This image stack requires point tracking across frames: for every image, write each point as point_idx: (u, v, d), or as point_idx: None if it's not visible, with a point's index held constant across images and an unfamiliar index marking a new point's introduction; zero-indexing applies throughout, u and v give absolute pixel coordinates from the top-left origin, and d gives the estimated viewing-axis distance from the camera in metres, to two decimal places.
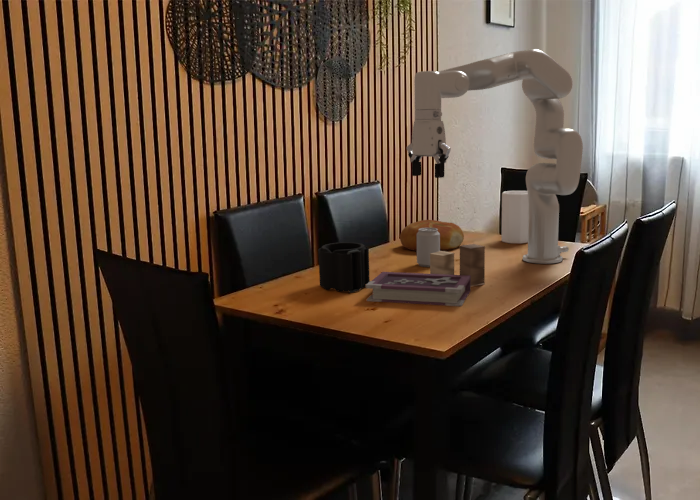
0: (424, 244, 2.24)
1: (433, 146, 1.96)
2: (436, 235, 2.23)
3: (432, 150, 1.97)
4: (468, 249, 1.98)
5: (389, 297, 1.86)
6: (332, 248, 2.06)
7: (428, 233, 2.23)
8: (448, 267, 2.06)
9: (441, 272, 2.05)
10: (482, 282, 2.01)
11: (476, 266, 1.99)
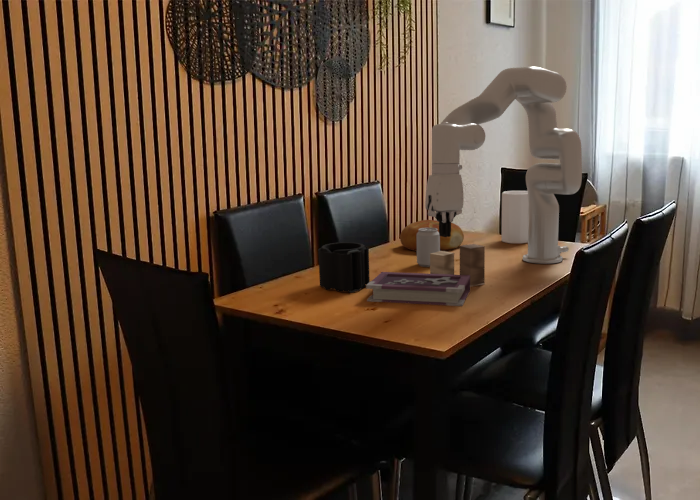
0: (424, 244, 2.24)
1: (462, 199, 1.93)
2: (435, 235, 2.23)
3: (461, 204, 1.93)
4: (468, 249, 1.98)
5: (389, 297, 1.86)
6: (332, 248, 2.06)
7: (428, 233, 2.23)
8: (448, 267, 2.06)
9: (441, 272, 2.05)
10: (482, 282, 2.01)
11: (476, 266, 1.99)
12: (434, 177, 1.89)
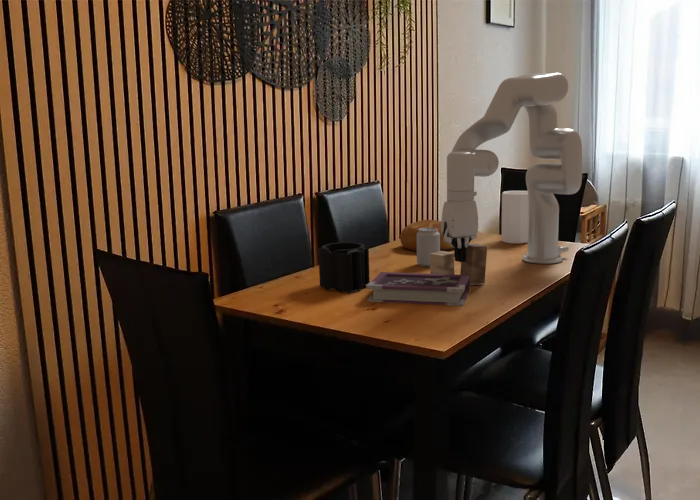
0: (424, 244, 2.24)
1: (477, 225, 1.97)
2: (436, 235, 2.23)
3: (476, 229, 1.97)
4: (471, 247, 1.98)
5: (390, 297, 1.86)
6: (332, 248, 2.06)
7: (428, 233, 2.23)
8: (448, 267, 2.06)
9: (441, 272, 2.05)
10: (482, 282, 2.01)
11: (477, 265, 1.99)
12: (449, 204, 1.93)
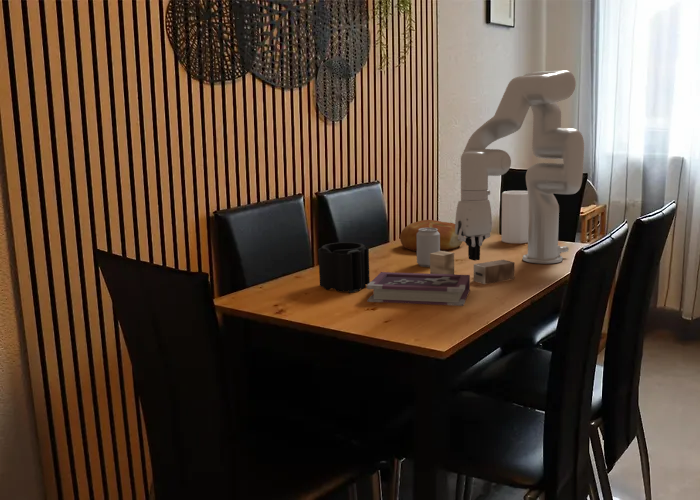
0: (424, 244, 2.24)
1: (491, 224, 2.00)
2: (436, 235, 2.23)
3: (490, 228, 2.00)
4: (511, 262, 2.06)
5: (390, 297, 1.86)
6: (332, 248, 2.06)
7: (428, 233, 2.23)
8: (448, 267, 2.06)
9: (441, 272, 2.05)
10: (486, 281, 2.01)
11: (499, 271, 2.03)
12: (464, 203, 1.95)
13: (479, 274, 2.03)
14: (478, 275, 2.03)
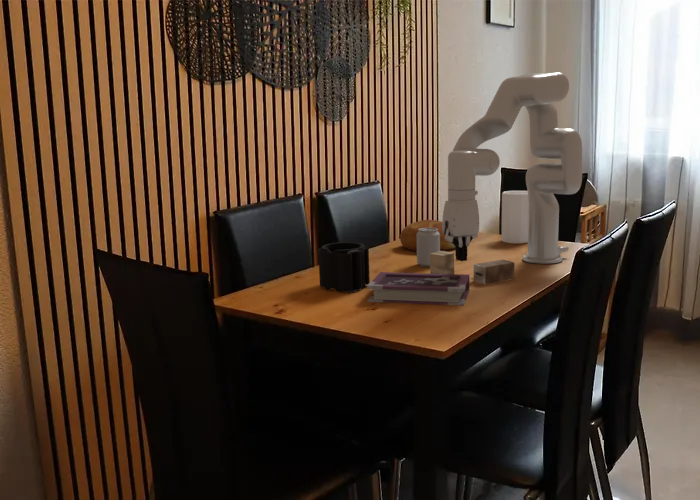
0: (424, 244, 2.24)
1: (478, 224, 1.97)
2: (436, 235, 2.23)
3: (477, 228, 1.97)
4: (511, 262, 2.06)
5: (390, 297, 1.86)
6: (332, 248, 2.06)
7: (428, 233, 2.23)
8: (448, 267, 2.06)
9: (441, 272, 2.05)
10: (486, 281, 2.01)
11: (499, 271, 2.03)
12: (451, 203, 1.93)
13: (479, 274, 2.03)
14: (478, 275, 2.03)
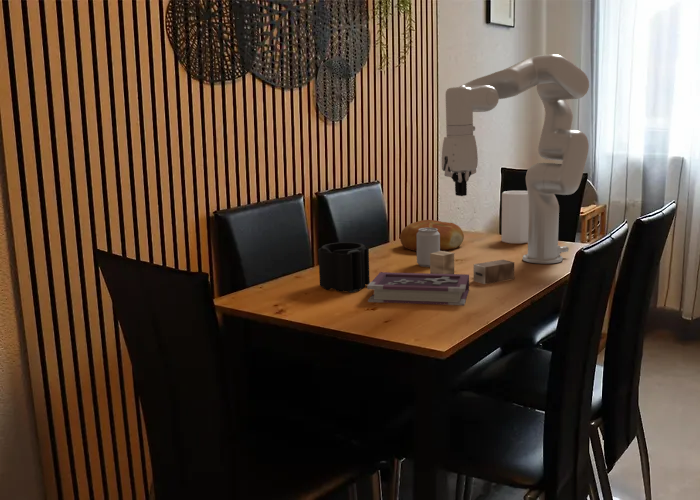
0: (424, 244, 2.24)
1: (477, 159, 2.02)
2: (436, 235, 2.23)
3: (476, 163, 2.02)
4: (511, 262, 2.06)
5: (391, 297, 1.86)
6: (332, 248, 2.06)
7: (428, 233, 2.23)
8: (448, 267, 2.06)
9: (441, 272, 2.05)
10: (486, 281, 2.01)
11: (499, 271, 2.03)
12: (449, 139, 1.97)
13: (479, 274, 2.03)
14: (478, 275, 2.03)
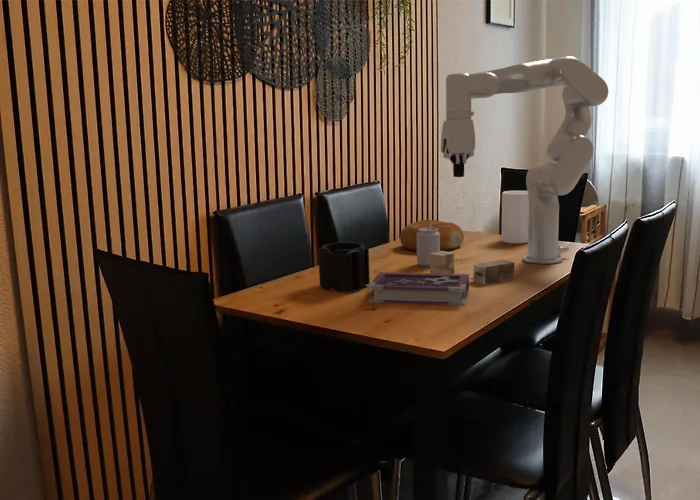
0: (424, 244, 2.24)
1: (474, 143, 2.13)
2: (436, 235, 2.23)
3: (473, 146, 2.13)
4: (511, 262, 2.06)
5: (391, 298, 1.85)
6: (332, 248, 2.06)
7: (428, 233, 2.23)
8: (448, 267, 2.06)
9: (441, 272, 2.05)
10: (486, 281, 2.01)
11: (499, 271, 2.03)
12: (448, 122, 2.09)
13: (479, 274, 2.03)
14: (478, 275, 2.03)
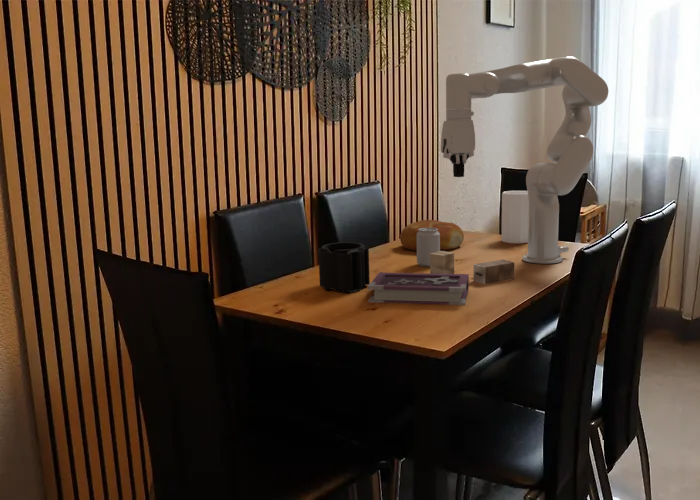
0: (424, 244, 2.24)
1: (474, 143, 2.13)
2: (436, 235, 2.23)
3: (473, 146, 2.13)
4: (511, 262, 2.06)
5: (391, 298, 1.85)
6: (332, 248, 2.06)
7: (428, 233, 2.23)
8: (448, 267, 2.06)
9: (441, 272, 2.05)
10: (486, 281, 2.01)
11: (499, 271, 2.03)
12: (448, 122, 2.09)
13: (479, 274, 2.03)
14: (478, 275, 2.03)
